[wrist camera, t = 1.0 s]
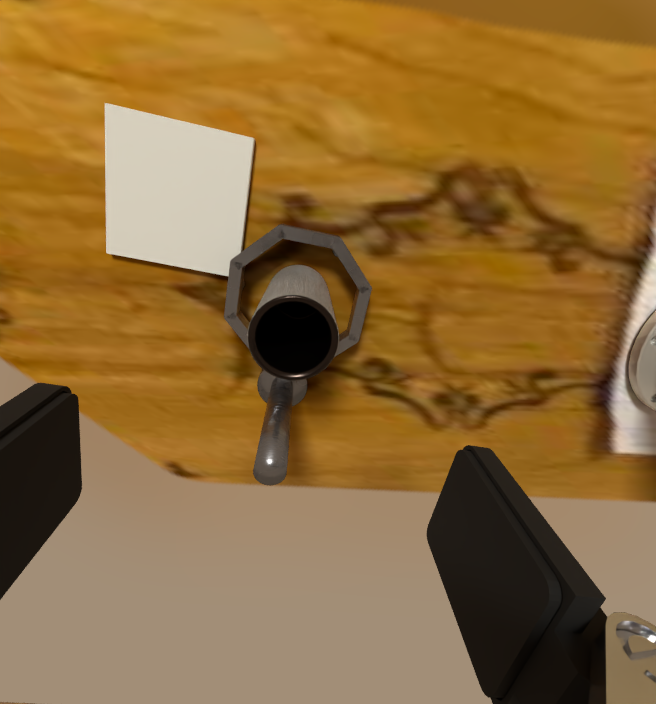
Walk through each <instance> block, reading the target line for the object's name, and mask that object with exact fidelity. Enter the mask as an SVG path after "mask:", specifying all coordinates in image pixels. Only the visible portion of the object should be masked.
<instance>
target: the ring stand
mask: <svg viewBox="0 0 656 704" xmlns="http://www.w3.org/2000/svg"><path fill="white" fill-rule="evenodd" d="M281 239H288V240H292V241H297V242H302V243H307V244H312V245H317V246H322V247H326V248H331V249H332V252H333V254H334V255H335V256H336V257H339V259H340V261H341V262H342V264H343V265H344V267H345V269H346V270H347V272H348V273H349V275H350V276H351V278H352V280H353V281H354V283H355V284H356V286H357V288H356V293H355V297H354V301H353V306H352V310H351V314H350V319H349V323H348V327H347V330H345V331H344V332H342V333H341V334H339V344H338V349H337V352H336V354H335V356H337V355H338V354H340V353H342V352H343V351H345V350H346V349H348V348H349V347H351V346H353V345H354V344H356V343H357V342H358V341H359V338H360V334H361V330H362V326H363V322H364V318H365V314H366V310H367V306H368V302H369V298H370V294H371V290H372V287H371V286H370V284H369V282H368V281H367V279H366V278H365V276H364V274H363V273H362V271H361V270H360V268H359V266H358V265H357V263H356V262H355V260H354V258H353V257H352V255H351V253H350V252H349V250H348V249H347V247H346V245H345V244H344V242H343V241H342V239H341V238H340V237H339V236H337V235H332V234H327V233H323V232H318V231H313V230H308V229H304V228H299V227H294V226H289V225H285V224H280V225H278V226H277V227H276V228H274V229H273V230H271V231H270V232H269V233H267V234H266V235H264V236H263V237H262V238H260V239H259V240H257V241H256V242H255V243H253V244H252V245H251V246H249V247H248V248H246V249H245V250H244V251H242V252H241V253H239V254H238V255H237V256H235V257H234V258H233V259H231V261H230V267H229V276H228V285H227V295H226V304H225V313H224V317H225V320H226V321H227V322H228V323H229V325H230V326H231V327H232V328H233V330H234V331H235V332H236V333H237V335H238V336H239V337H240V338H241V340H242V341H243V342H244V343H245V344H246V346H247V347H248V348H249V346H248V339H247V334H248V327H249V324H250V323H249V321H248V320H247V319H246V318H245V316H244V315H243V314H242V312H241V311H240V304H241V296H242V289H243V288H244V287H245V281H244V280H243V279H244V271H245V265H246V264H248V263H249V262H251V261H252V260H253V259H255V258H256V257H258V256H259V255H260V254H262V253H263V252H265V251H266V250H267V249H269V248H270V247H272V246H273V245H274V244H276V243H277V242H279V241H280V240H281ZM335 356H334V357H335ZM257 386H258V392H259V394H260V396H261V397H262V399H263V400H264V401H265V402H266V403H267V408H266V412H265V417H264V422H263V427H262V431H261V436H260V441H259V446H258V450H257V455H256V460H255V465H254V469H253V474H254V477H255V478H256V480H257V481H259V482H260V483H262V484H265V485H276V484H278V483H280V482H282V481H283V480H284V478H285V477H286V473H287V460H288V448H289V436H290V424H291V412H292V406H294V405H296V404H298V403H299V402H300V401H301V400H302V399H303V398H304V396H305V394H306V391H307V379H304V380H284V379H280V378H277V377H275V376H272V375H271V374H269V373H267V372H266V371H264V370H262V372H261V373H260V376H259V379H258V385H257Z"/></svg>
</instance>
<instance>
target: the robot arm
mask: <svg viewBox="0 0 656 704" xmlns="http://www.w3.org/2000/svg"><path fill="white" fill-rule="evenodd" d="M629 379H630V383H631V387H632V389H633V391H634V393H635V394H636V396H637V398H638V399H639V400H640V401H642V402H643V403H644V404H645V405H646V406H648V407H650V408H651V409H653V410H655V411H656V311H655V312H654V313H653V314H652V316H651V317H650V318H649V319H648V321H647V322H646V323H645V324H644V326H643V328H642V329H641V331H640V333H639V335H638V336H637V338H636V341H635V343H634V346H633V348H632V351H631V355H630V361H629ZM81 489H82V478H81V453H80V430H79V404H78V397H77V395H75V394H72V393H71V390H70V388H68V387H67V386H60V385H53V384H46V383H37V384H34V385H33V386H31V387H30V388H28V389H27V390H25V391H23V392H22V393H20V394H19V395H17V396H16V397H14V398H13V399H11V400H10V401H8V402H6V403H5V404H3V405H2V406H0V599H1V598H2V597H3V595H4V594H5V593H6V591H7V590H8V589H9V588H10V587H11V585H12V584H13V583H14V581H15V580H16V579H17V578H18V576H19V575H20V574H21V573H22V571H23V570H24V569H25V567H26V566H27V565H28V564H29V562H30V561H31V560H32V558H33V557H34V556H35V554H36V553H37V552H38V551H39V550H40V548H41V547H42V545H43V544H44V543H45V542H46V541H47V539H48V538H49V537H50V536H51V534H52V533H53V532H54V530H55V529H56V528H57V526H58V525H59V524H60V523H61V521H62V520H63V519H64V518H65V516H66V515H67V514H68V513H69V511H70V510H71V509H72V507H73V506H74V505H75V504H76V502H77V500H78V498H79V496H80V493H81ZM427 540H428V544H429V546H430V549H431V552H432V554H433V557H434V560H435V563H436V565H437V568H438V571H439V574H440V577H441V579H442V582H443V585H444V588H445V590H446V593H447V596H448V599H449V601H450V604H451V607H452V609H453V612H454V615H455V617H456V621H457V623H458V626H459V629H460V631H461V634H462V637H463V640H464V642H465V645H466V648H467V651H468V654H469V656H470V659H471V662H472V665H473V667H474V670H475V673H476V676H477V678H478V681H479V684H480V686H481V688H482V691H483V692H484V694H485V695H486V696H487V697H490V698H491V700H492V703H493V704H656V627H655V626H654V625H653V624H651V623H649V622H647V621H645V620H643V619H641V618H639V617H637V616H634V615H631V614H628V613H625V612H615V613H613V614H611V615H609V616H608V617H607V616H606V615H605V613H604V612H603V611H602V609H601V608H600V607H601V605H602V604H603V602H604V601H605V599H606V598H605V597H604V596H603V594H602V593H601V592H600V590H599V589H598V588H597V586H596V585H595V584H594V582H593V581H592V580H591V579H590V577H589V576H588V575H587V573H586V572H585V571H584V569H583V568H582V567H581V566H580V564H579V563H578V562H577V560H576V559H575V558H574V556H573V555H572V554H571V553H570V551H569V550H568V549H567V547H566V546H565V545H564V543H563V542H562V541H561V539H560V538H559V537H558V536H557V534H556V533H555V532H554V531H553V529H552V528H551V527H550V525H549V524H548V523H547V521H546V520H545V519H544V517H543V516H542V515H541V513H540V512H539V511H538V509H537V508H536V507H535V506H534V504H533V503H532V502H531V500H530V499H529V498H528V496H527V495H526V494H525V493H524V491H523V490H522V489H521V487H520V486H519V485H518V483H517V482H516V481H515V480H514V478H513V477H512V476H511V474H510V473H509V472H508V470H507V469H506V468H505V466H504V465H503V464H502V463H501V461H500V460H499V459H498V457H497V456H496V455H495V453H494V452H493V451H492V450H491V449H489V448H484V447H477V446H470V445H468V446H465V447H464V448H463V450H459V451H458V452H457V453H456V455H455V458H454V461H453V463H452V466H451V468H450V471H449V473H448V476H447V478H446V481H445V484H444V486H443V489H442V491H441V494H440V496H439V499H438V502H437V504H436V507H435V509H434V512H433V514H432V517H431V519H430V522H429V524H428V528H427ZM0 704H33V703H8V702H0Z"/></svg>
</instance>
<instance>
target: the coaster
mask: <svg viewBox="0 0 656 704" xmlns="http://www.w3.org/2000/svg"><path fill="white" fill-rule="evenodd" d="M254 146H255V139H254V138H251V137H247V136H243V135H238V134H234V133H230V132H226V131H222V130H217V129H213V128H209V127H205V126H200V125H196V124H192V123H188V122H183V121H179V120H175V119H171V118H167V117H162V116H158V115H154V114H150V113H145V112H141V111H137V110H133V109H129V108H124V107H120V106H116V105H112V104H107V103H105V172H106V253H108V254H114V255H119V256H124V257H129V258H135V259H140V260H145V261H150V262H156V263H161V264H166V265H171V266H177V267H182V268H187V269H192V270H198V271H203V272H208V273H213V274H219V275H224V276H229V267H230V261H231V259H233V258H234V257H235V256H237V255H238V254H239V253H241V252H242V248H243V240H244V231H245V223H246V214H247V205H248V197H249V188H250V180H251V171H252V163H253V154H254Z"/></svg>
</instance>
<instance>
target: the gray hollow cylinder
mask: <svg viewBox="0 0 656 704" xmlns="http://www.w3.org/2000/svg"><path fill="white" fill-rule="evenodd" d="M247 339H248V346H249V349H250V352H251V354H252V356H253V358H254V360H255V361H256V363H257V364H258V365H259V366H260V367H261V368H262V369H263V370H264V371H266V372H267V373H269V374H271V375H272V376H275V377H277V378H280V379H284V380H304V379H308V378H311V377H313V376H315V375H317V374H319V373H320V372H322V371H323V370H324V369H325V368H326V367H327V366H328V365H329V364H330V363H331V361H332V360H333V358H334V356H335V354H336V352H337V349H338V344H339V332H338V327H337V323H336V319H335V315H334V311H333V307H332V303H331V299H330V295H329V290H328V287H327V284H326V282H325V280H324V279H323V277H322V276H321V275H320V274H319V273H318V272H317V271H316V270H314V269H312V268H311V267H308V266H305V265H291V266H288V267H285V268H283V269H282V270H280V271H279V272H278V273H277V274H276V275H275V276H274V277H273V278H272V280H271V282H270V284H269V286H268V288H267V290H266V291H265V293H264V295H263V297H262V299H261V301H260V303H259V305H258V307H257V309H256V311H255V313H254V315H253V317H252V319H251V321H250V324H249V327H248V334H247Z"/></svg>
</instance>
